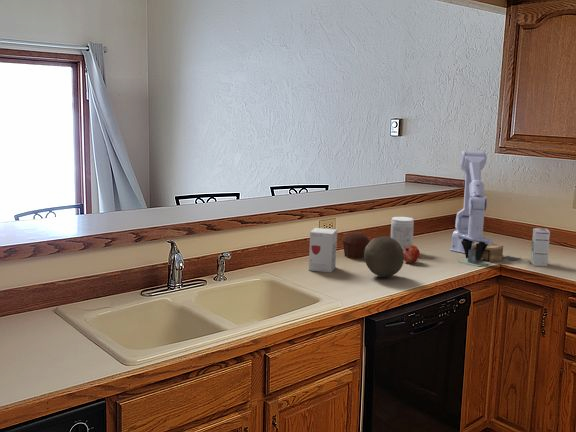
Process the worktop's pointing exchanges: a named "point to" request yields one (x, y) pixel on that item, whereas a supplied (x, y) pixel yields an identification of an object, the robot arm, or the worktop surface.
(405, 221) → the supplement tub
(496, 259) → the tunnel
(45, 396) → the worktop surface
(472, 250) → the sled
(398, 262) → the cantaloupe
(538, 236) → the syrup box
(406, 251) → the pomegranate
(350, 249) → the muffin
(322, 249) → the supplement box
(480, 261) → the pad
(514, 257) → the pit right
